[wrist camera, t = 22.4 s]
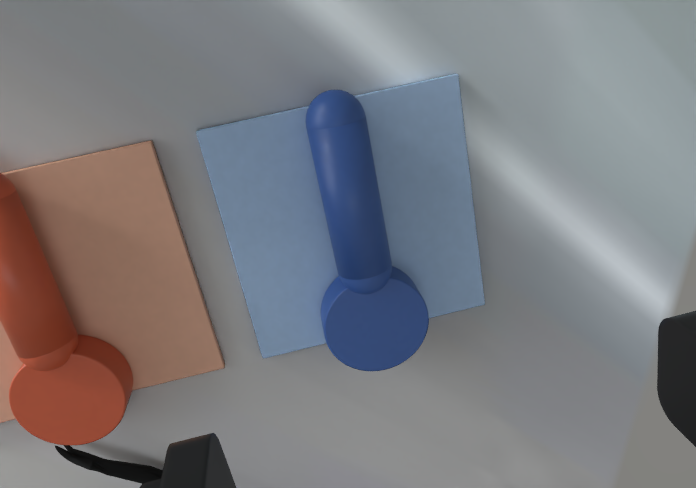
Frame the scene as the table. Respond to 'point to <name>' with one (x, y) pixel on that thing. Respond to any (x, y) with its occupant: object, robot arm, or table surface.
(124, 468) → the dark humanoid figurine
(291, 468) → the table surface
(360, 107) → the blue spoon
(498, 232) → the table surface
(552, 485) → the table surface
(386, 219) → the blue mat
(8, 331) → the terracotta spoon
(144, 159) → the terracotta mat
